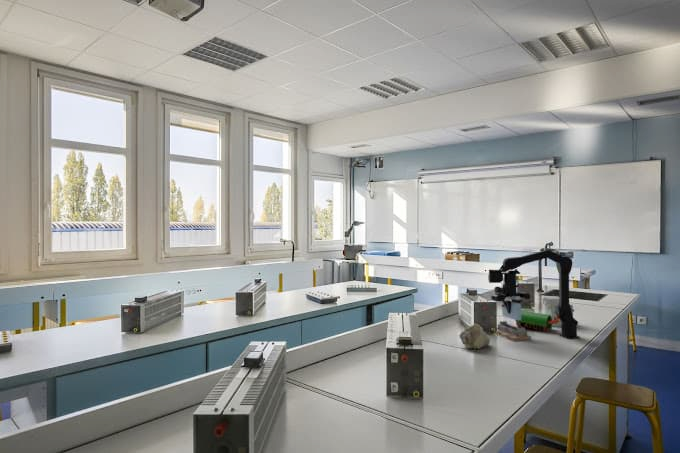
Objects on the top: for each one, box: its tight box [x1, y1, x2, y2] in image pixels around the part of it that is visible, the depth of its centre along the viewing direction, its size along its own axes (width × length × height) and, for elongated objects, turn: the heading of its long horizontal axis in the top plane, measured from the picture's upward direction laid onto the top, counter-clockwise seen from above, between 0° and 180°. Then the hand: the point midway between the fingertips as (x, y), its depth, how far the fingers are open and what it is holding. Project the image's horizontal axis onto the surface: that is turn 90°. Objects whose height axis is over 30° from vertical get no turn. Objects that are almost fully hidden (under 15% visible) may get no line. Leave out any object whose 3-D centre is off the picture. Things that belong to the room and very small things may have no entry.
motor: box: [514, 310, 559, 332], centre depth 215 cm, size 10×9×20 cm
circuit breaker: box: [542, 295, 575, 327], centre depth 224 cm, size 8×14×15 cm, turn 89°
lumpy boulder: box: [458, 323, 491, 350], centre depth 188 cm, size 11×11×15 cm
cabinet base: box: [496, 320, 532, 341], centre depth 205 cm, size 20×10×6 cm, turn 12°
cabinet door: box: [501, 300, 522, 321], centre depth 205 cm, size 12×3×8 cm, turn 12°
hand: (511, 313), depth 205 cm, fingers closed on cabinet door, 2 cm apart
